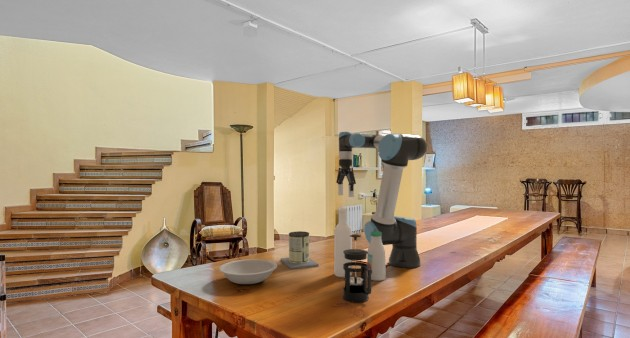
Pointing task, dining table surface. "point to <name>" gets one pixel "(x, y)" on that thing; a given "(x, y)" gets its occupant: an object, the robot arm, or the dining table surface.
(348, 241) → the bottle
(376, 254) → the milk bottle
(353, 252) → the french press
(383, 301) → the dining table surface
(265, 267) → the soup bowl
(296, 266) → the grey mat
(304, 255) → the coffee can
